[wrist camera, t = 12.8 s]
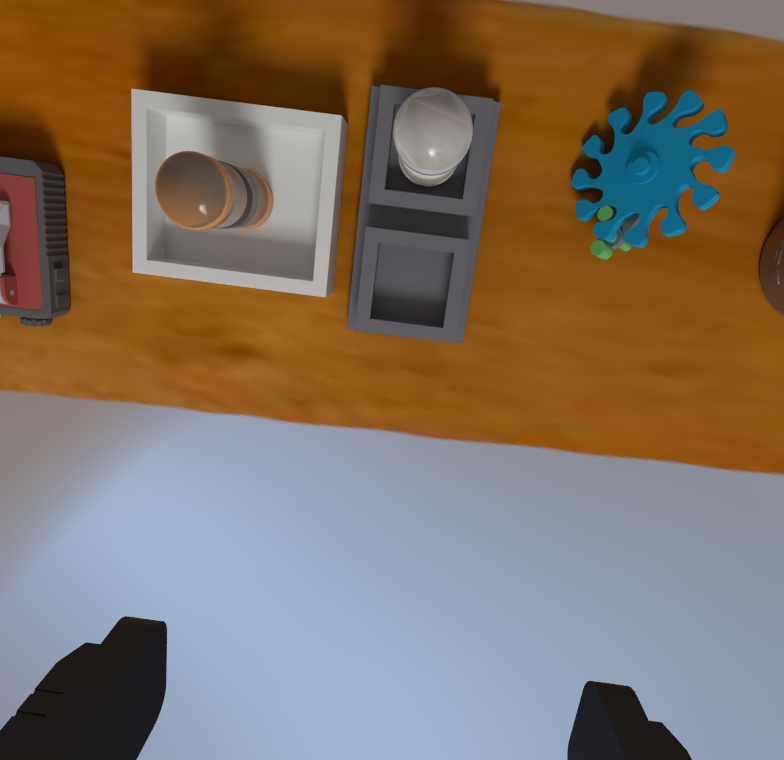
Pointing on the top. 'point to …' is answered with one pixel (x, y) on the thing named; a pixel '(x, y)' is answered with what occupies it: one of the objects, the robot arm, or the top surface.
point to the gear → (649, 172)
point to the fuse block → (418, 230)
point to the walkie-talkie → (33, 242)
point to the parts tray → (253, 152)
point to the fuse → (432, 135)
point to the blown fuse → (211, 193)
